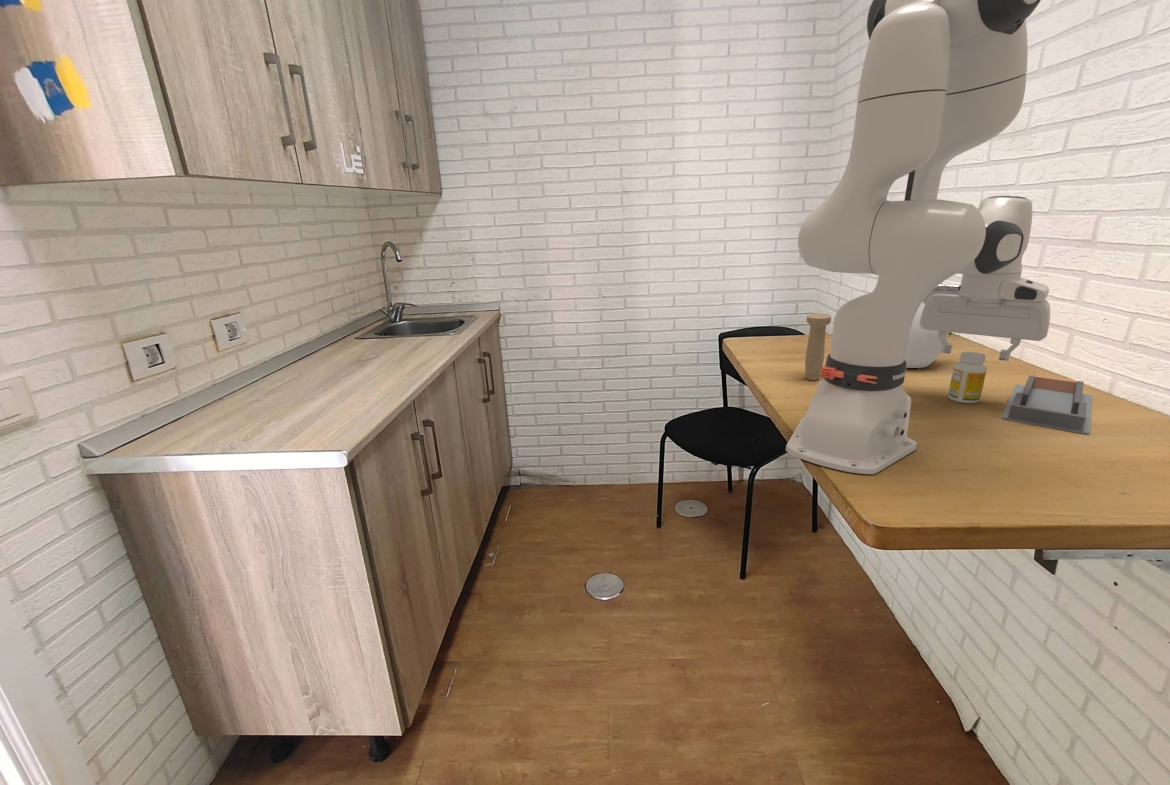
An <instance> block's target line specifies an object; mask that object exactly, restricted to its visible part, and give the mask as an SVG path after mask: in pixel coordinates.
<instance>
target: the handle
mask: <svg viewBox="0 0 1170 785" xmlns="http://www.w3.org/2000/svg"><path fill="white" fill-rule="evenodd" d="M831 321H832V315H831V314H829V313H816V312H815V313H811V314H808V315H807V316H806V323H807V324H809V326H810V327H809V333H808V340H807V347H806V350H805V362H804V368H805V369H804V370H805V373H804V375H805V376H804V378H805V379H807V381H816V380H817V381H818V380H820V379H821V370H822V367H823V366H824V365H823V364H824V360H825V359H824V358H825V348H826V347H825V344H826V328H827V326H828V325H830V323H831Z"/></svg>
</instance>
